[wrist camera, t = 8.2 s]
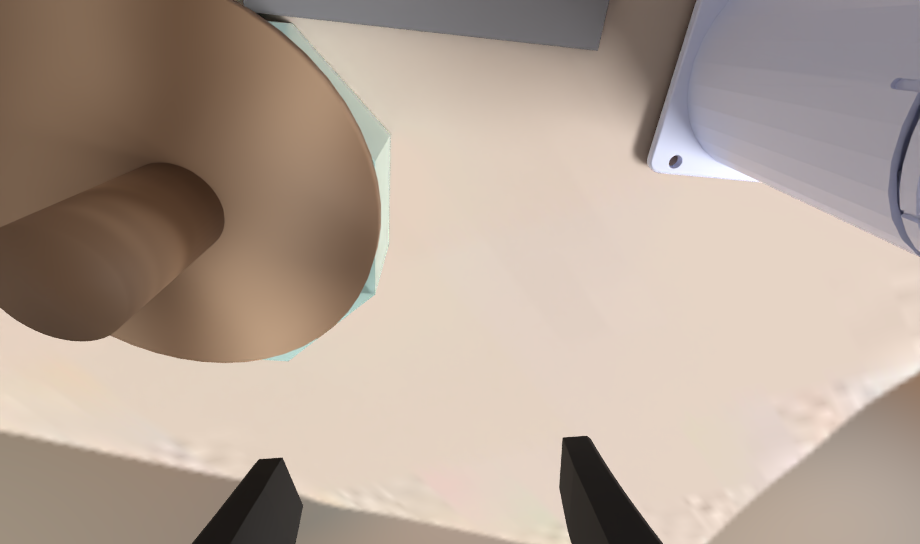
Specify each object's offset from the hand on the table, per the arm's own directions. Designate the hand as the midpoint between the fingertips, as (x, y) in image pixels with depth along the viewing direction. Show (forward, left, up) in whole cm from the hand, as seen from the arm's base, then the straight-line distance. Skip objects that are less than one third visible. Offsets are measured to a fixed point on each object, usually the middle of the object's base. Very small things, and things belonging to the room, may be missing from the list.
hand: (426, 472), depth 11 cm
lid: (+8, -5, -6) cm, 11 cm away
